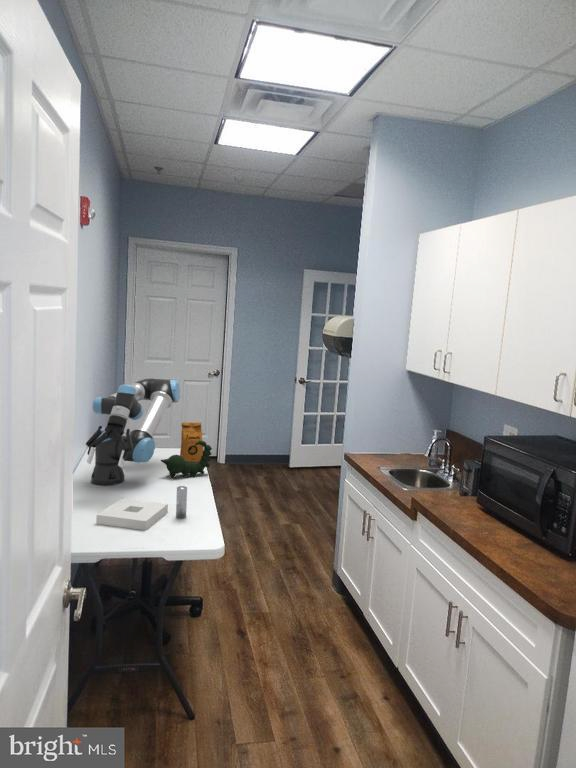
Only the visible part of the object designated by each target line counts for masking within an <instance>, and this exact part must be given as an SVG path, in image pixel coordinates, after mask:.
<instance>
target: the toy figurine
mask: <svg viewBox="0 0 576 768" xmlns="http://www.w3.org/2000/svg"><path fill="white" fill-rule="evenodd" d="M199 444H200V445H202V446H203V455H202V456H201V460H200V461H199V462H189V461H185V459H184V458H183V457H182V456H180V454H172V455H171V456H169V457H168V458H167V459H166V458H164V459H160V462H161V463H162V464H164V465H166V466H165V467H166V469H167V471H168V472H169V473H168V475H169V477H170V478H175V477H176V475H178V474H182V475H183V476H184V478H186V477H189V475H190V476H192V477H194V478H195V477H197V474H198V473H199V474H201V475H204V474H205V471H204V469H206V468H210V467H211V465H210V463H208V462H211V461H212V460H211V459H212V458H210V456H212V452H211V451H212V449H213V448H212V447H211V445H209V444H207V442H206V441H204V440H202V441H198V442H197V443H196V444H195V446H196V445H199Z"/></svg>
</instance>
